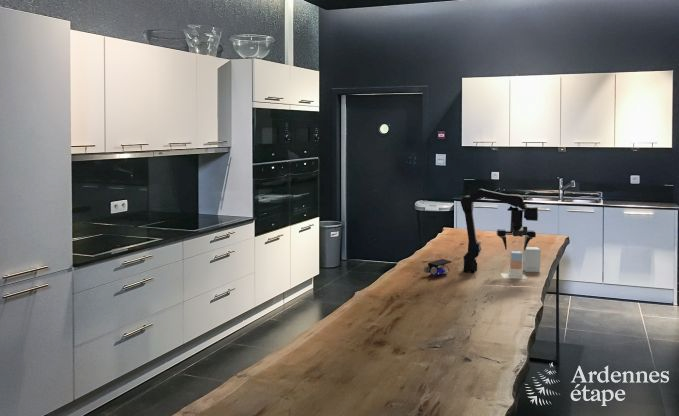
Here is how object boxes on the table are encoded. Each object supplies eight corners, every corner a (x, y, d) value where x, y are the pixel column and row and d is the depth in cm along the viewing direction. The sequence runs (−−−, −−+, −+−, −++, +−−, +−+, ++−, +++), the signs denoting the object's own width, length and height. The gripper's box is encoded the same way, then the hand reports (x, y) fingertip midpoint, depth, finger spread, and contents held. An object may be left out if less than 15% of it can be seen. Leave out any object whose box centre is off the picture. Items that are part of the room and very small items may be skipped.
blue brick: (510, 258, 339) (510, 251, 339) (520, 259, 339) (520, 251, 338) (511, 260, 334) (512, 253, 334) (522, 261, 334) (522, 253, 333)
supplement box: (539, 273, 347) (541, 249, 345) (525, 273, 347) (526, 249, 345) (536, 270, 354) (537, 246, 352) (521, 270, 354) (523, 246, 352)
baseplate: (502, 279, 332) (502, 277, 332) (500, 274, 342) (500, 273, 342) (527, 280, 331) (527, 278, 331) (524, 275, 341) (524, 274, 341)
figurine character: (433, 281, 333) (452, 273, 343) (433, 266, 331) (452, 259, 341) (423, 279, 338) (441, 271, 348) (422, 264, 336) (441, 257, 346)
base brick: (510, 276, 335) (510, 269, 334) (508, 274, 341) (508, 266, 340) (522, 277, 334) (522, 269, 334) (520, 274, 340) (521, 266, 340)
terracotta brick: (509, 266, 340) (510, 258, 339) (520, 267, 339) (520, 259, 339) (511, 268, 335) (511, 261, 334) (521, 269, 334) (522, 261, 334)
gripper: (499, 221, 332) (498, 252, 334) (538, 222, 330) (536, 253, 332) (497, 218, 343) (495, 248, 345) (534, 219, 341) (532, 249, 343)
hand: (515, 250), depth 341 cm, fingers open, 9 cm apart
